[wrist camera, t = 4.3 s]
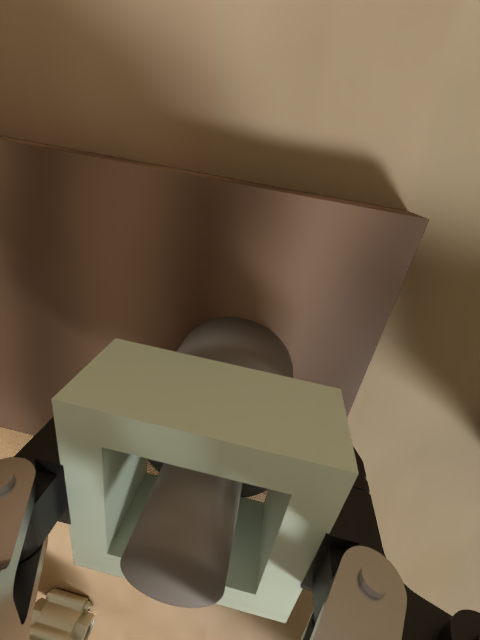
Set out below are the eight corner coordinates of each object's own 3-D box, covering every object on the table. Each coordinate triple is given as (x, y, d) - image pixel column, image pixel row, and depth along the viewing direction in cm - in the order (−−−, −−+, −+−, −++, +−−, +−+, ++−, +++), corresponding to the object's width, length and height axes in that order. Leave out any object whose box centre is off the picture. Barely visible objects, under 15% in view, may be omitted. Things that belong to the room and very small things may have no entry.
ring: (341, 388, 8) (358, 473, 6) (287, 528, 11) (285, 623, 8) (115, 338, 8) (51, 398, 6) (118, 484, 11) (73, 564, 9)
